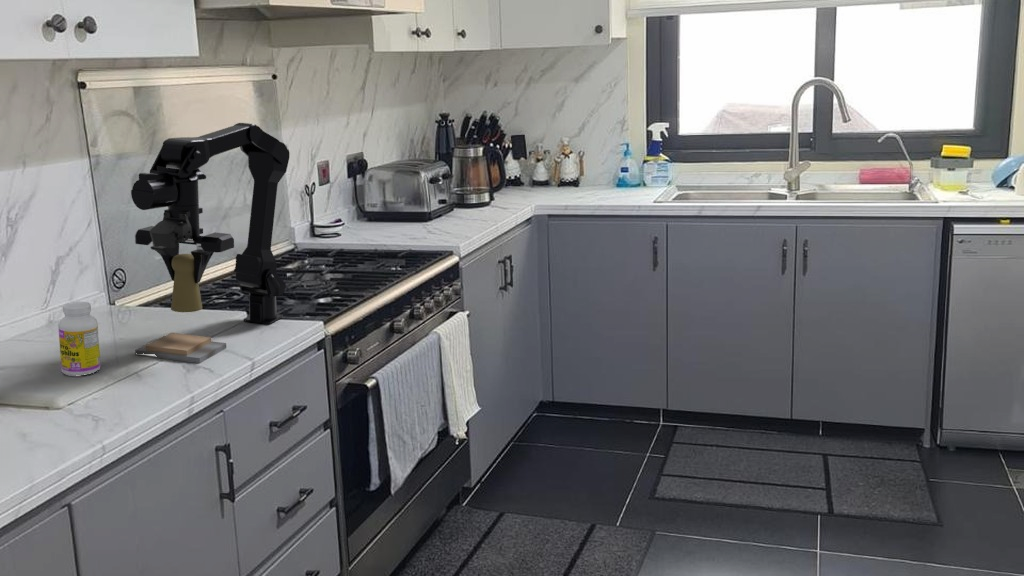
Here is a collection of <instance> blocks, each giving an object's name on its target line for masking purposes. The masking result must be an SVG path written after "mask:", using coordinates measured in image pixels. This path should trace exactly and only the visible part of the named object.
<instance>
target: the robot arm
mask: <svg viewBox="0 0 1024 576" xmlns="http://www.w3.org/2000/svg"><path fill="white" fill-rule="evenodd" d="M237 148H240V151H241V152H242V153H244V154H245V155H246V156H247V157H248V159H247V163H248V165H247V166H248V170H249V172H250V175H251V176H252V179H253V189H252V198H251V207H250V216H249V227H248V237H247V245H246V248H245V249H244V250H243V251H242V252H241V253H237V254H236V256H235V265H234V269H233V273H235V280H236V281H237V283H238V287H239V290H240V292H241V293H248V294H249V295H248V297H249V301H248V303H249V304H248V305H249V310H248V311H249V315H248V316H246V317H245V318H243V322H246V323H247V322H248V323H256V324H266V325H272V324H273V323H275V322H276V321H278V320H280V319H281V318H283V314H282V313H281V314H280V313H277V297H281V296H282V295H283V294H284V293H285V292H286V285H287V284H286V282H285V281H284V280H283V279H282V278H281V277H280V276H279V275H278V274H277V273H278V272H277V261H276V258H275V255H274V254H273V251H272V241H273V230H274V223H275V222H274V221H275V214H276V213H275V212H276V203H277V194H278V193H277V191H278V185H279V182H280V181H281V180H282V178H283V177H284V175H285V174H286V173H287V171H288V165H289V161H290V150H289V148H288V147H287V145H286V144H285V143H284V142H281V141H280V140H279V139H278V138H276V137H274V136H273V135H271V134H269V133H267V132H266V131H264V130H263V129H262V128H261V127H260V126H258V125H257V124H255V123H250V122H249V123H247V122H237V123H235V124H233V125H231V126H228V127H225V128H222V129H219V130H215V131H212V132H209V133H206V134H203V135H199V136H193V137H192V136H191V137H189V136H187V137H185V136H184V137H180V136H179V137H170V138H166V139H165V140H164V141H163V142H162V146H161V148H160V150H159V152H158V153H157V155H156V158H155V159H154V162H153V164H152V165H151V168H150V170H149V172H139V173H138V180H136V181H135V182H134V183H133V185H132V187H131V190H130V194H131V200H132V201H133V204H134V205H135V207H136V208H138V209H139V210H142V211H146V210H147V211H148V210H154V209H160V208H166V207H167V209H163V211H164V212H163V218H162V220H161V221H159V222H157V224H155V225H151V226H146V227H143V228H138V229H137V230H136V232H135V234H134V244H135V245H143V246H149V245H151V244H152V245H151V246H150V249H151V250H152V251H156V252H157V253H158V254H159V255H160V256H161V257H160V258H162V260H163V262H164V264H165V266H166V269H167V271H168V274H169V277H170V278H171V281H173V282H174V275H175V271H174V270H173V268H172V259H173V257H174V256H176V255H179V254H180V244H184V245H185V244H186V245H195V246H196V249H195V250H192V251H190V254H192V256H193V257H194V278H195V283H198V284H199V283H200V282H201V281H202V278H203V275H204V274H205V271H206V268H207V266H208V264H209V262H210V260H211V259H212V256H213V255H214V253H223V252H225V251H228V250H231V249H234V248H235V239H234V238H233V235H232V234H231V233H226V232H224V233H223V232H212V233H209V234H205V235H203V234H204V228H203V227H202V228H201V227H200V214H203V212H204V211H203V207H200V204H199V203H200V202H199V198H200V197H199V181H201V180H206V179H207V175H205V173H204V172H202V171H201V170H200V169H199V168H201V167H203V166H205V165H206V164H208V162H209V161H210V159H211V158H212V157H214V156H217V155H220V154H223V153H226V152H228V151H231V150H234V149H237Z"/></svg>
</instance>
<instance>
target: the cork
mask: <svg viewBox="0 0 1024 576" xmlns="http://www.w3.org/2000/svg"><path fill="white" fill-rule="evenodd" d="M172 268H173V270H174V271H175V275H174V281H173V284H172V285H173V287H172V294H171V295H172V296H171V306H170V310H171V311H173V312H176V313H194V312H199V311H201V310H203V303H202V296H201V291H200V286H199V283H195V278H194V257H193V256H192V254H191V253H179V255H176V256H174V257H173V259H172Z"/></svg>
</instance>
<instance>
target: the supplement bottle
mask: <svg viewBox="0 0 1024 576" xmlns="http://www.w3.org/2000/svg"><path fill="white" fill-rule="evenodd" d="M91 311H92V305H91V303H90V302H88V301H70V302H67V303H65V304H63V305H62V312H63V314H64V317H62V318H61V319H60V320H59V322H58V325H57V326H58V328H57V329H58V341H59V354H60V365H61V366H60V368H61V373H63V374H64V375H65V376H69V377H77V376H76V375H84V374H89V373H93V372H95V371H97V370H99V371H100V369H101V354H100V353H101V352H100V339H99V324H98V323H99V322H98V320H97V318H96V317H95V316H93V315H92V314H91ZM97 372H98V371H97ZM93 374H94V373H93Z"/></svg>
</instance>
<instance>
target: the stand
mask: <svg viewBox="0 0 1024 576" xmlns="http://www.w3.org/2000/svg"><path fill="white" fill-rule="evenodd" d="M225 349H227V343H226V342H219V341H213V340H212V337H210V336H202V335H194V334H186V333H185V334H183V333H179V332H170V333H168V334H166V335H163V336H161V337H159V338H156V339H154V340H153V341H150V342H148V343H147V344H145V345H143V346H141V347H138V348H136V349H135V353H134V354H136V353H137V354H143V353H144V354H155V355H156V356H157V358H158V359H165V360H173V361H174V360H175V361H180V362H190V363H197V364H201V363H203V362H204V361H206V360H208V359H209V358H211V357H213V356H215V355H217V354H218V353H220V352H222V351H223V350H225ZM157 358H156V359H157Z"/></svg>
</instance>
